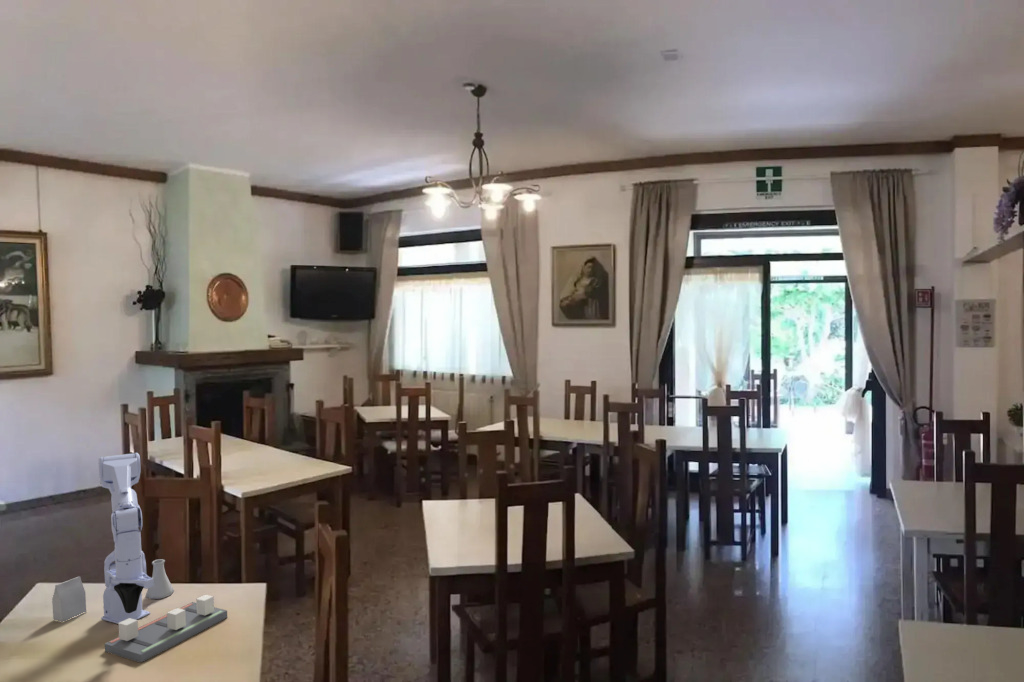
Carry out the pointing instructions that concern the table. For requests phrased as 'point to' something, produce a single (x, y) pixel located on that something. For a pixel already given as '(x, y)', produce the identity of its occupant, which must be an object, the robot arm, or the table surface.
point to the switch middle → (176, 618)
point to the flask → (159, 582)
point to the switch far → (205, 604)
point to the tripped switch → (128, 629)
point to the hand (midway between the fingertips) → (131, 611)
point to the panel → (163, 634)
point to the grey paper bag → (68, 599)
